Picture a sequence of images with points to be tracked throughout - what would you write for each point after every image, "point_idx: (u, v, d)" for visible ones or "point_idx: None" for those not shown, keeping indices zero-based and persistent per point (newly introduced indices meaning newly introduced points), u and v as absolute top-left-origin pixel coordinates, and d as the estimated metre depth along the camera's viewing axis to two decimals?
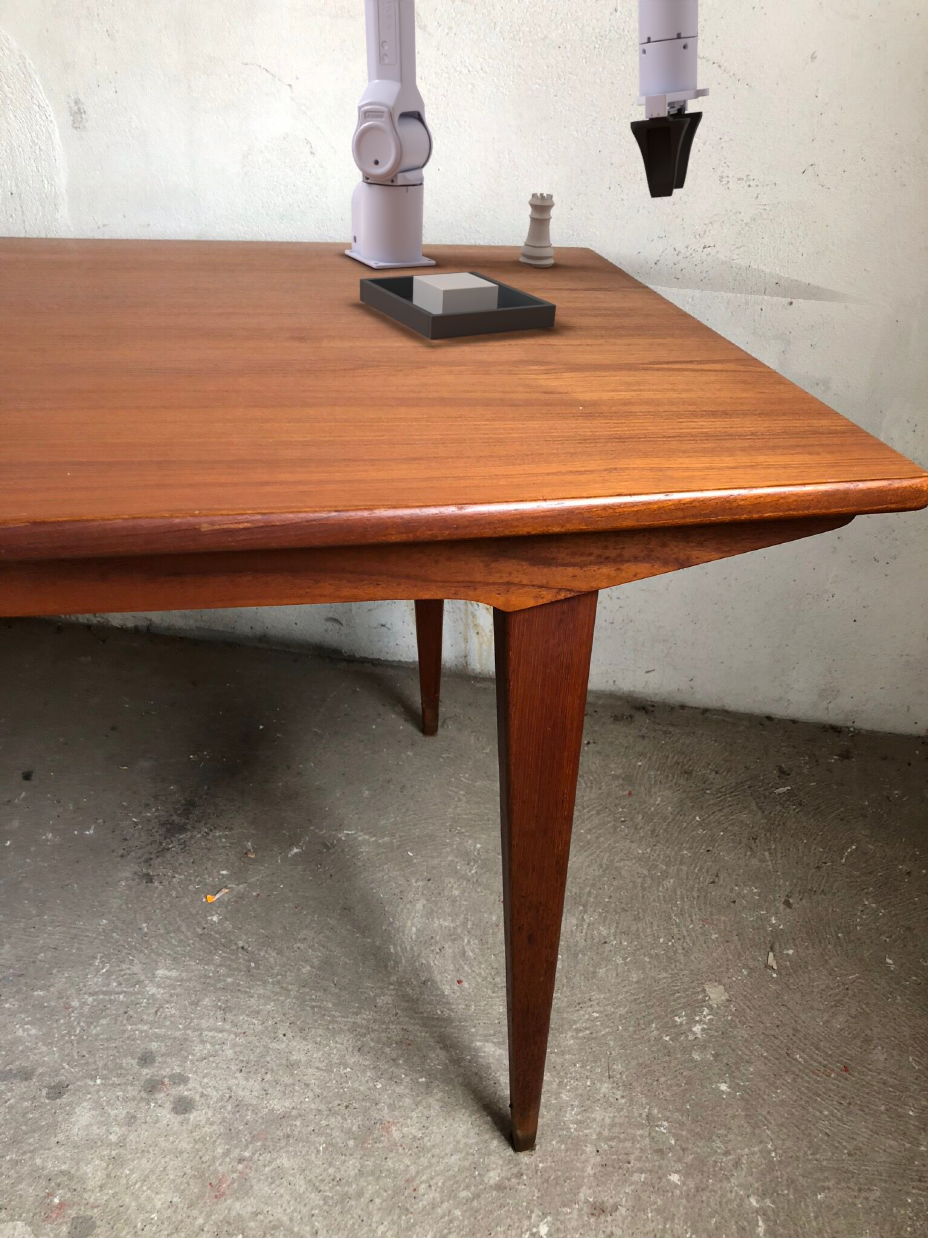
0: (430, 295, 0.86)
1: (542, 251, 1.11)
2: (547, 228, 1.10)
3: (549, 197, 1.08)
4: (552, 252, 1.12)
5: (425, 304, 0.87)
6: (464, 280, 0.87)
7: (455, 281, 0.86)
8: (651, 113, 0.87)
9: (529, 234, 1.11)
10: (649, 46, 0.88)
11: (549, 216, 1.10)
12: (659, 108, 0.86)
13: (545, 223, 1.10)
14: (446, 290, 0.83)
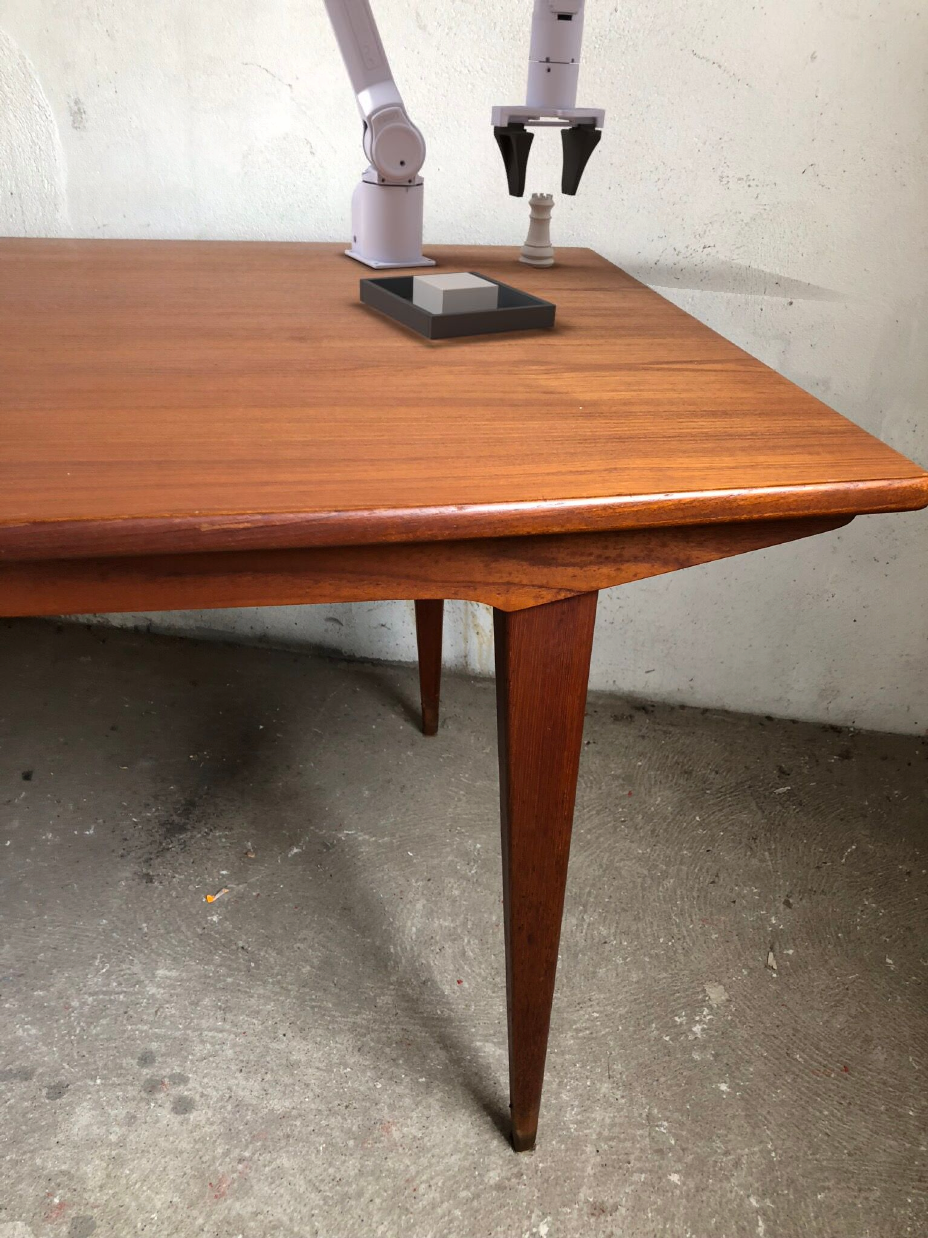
0: (430, 295, 0.86)
1: (542, 251, 1.11)
2: (547, 228, 1.10)
3: (549, 197, 1.08)
4: (552, 252, 1.12)
5: (425, 304, 0.87)
6: (464, 280, 0.87)
7: (455, 281, 0.86)
8: (493, 121, 1.02)
9: (529, 234, 1.11)
10: (528, 64, 1.02)
11: (549, 216, 1.10)
12: (497, 118, 1.01)
13: (545, 223, 1.10)
14: (446, 290, 0.83)
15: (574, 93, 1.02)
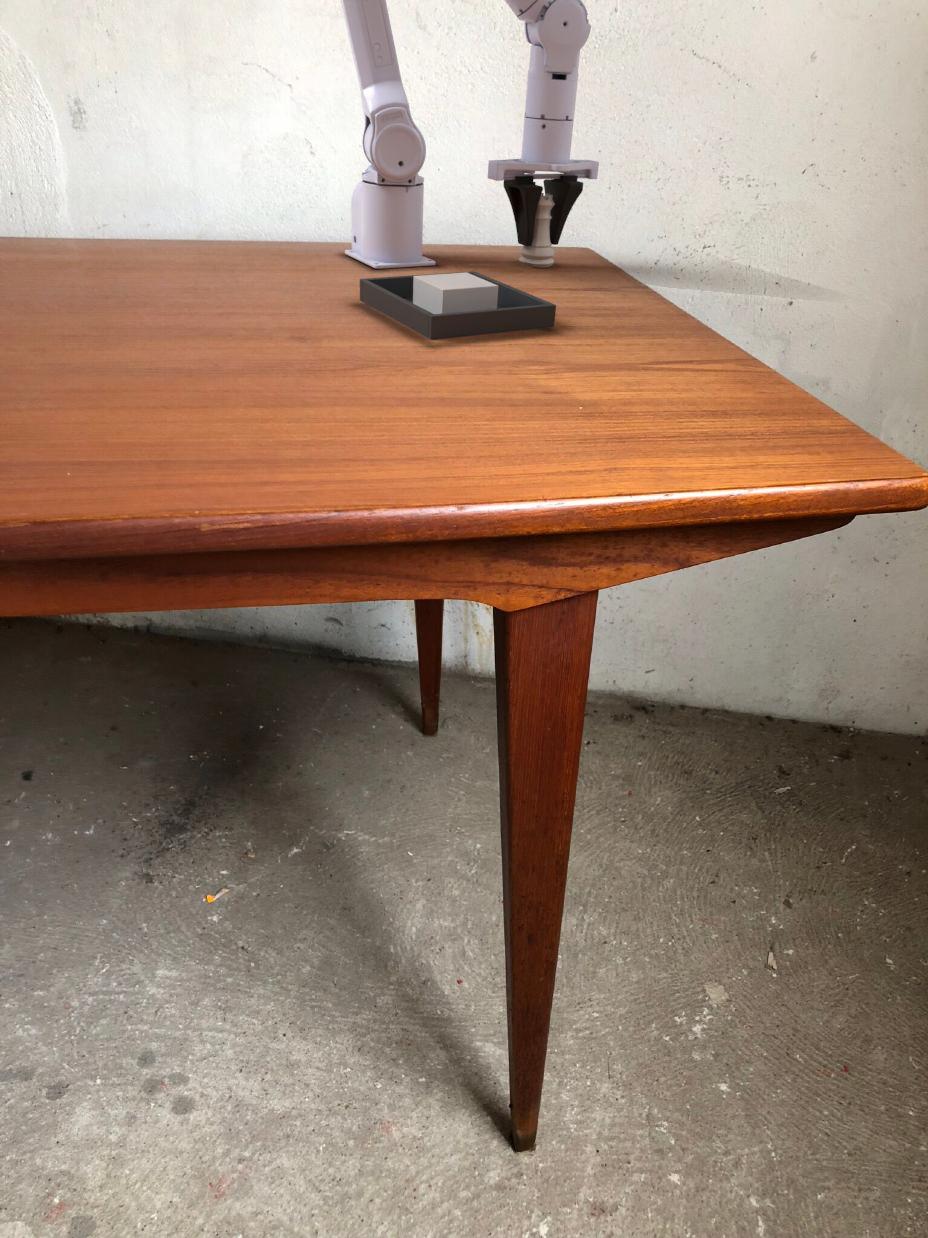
0: (430, 295, 0.86)
1: (542, 251, 1.11)
2: (547, 228, 1.10)
3: (549, 197, 1.08)
4: (552, 252, 1.12)
5: (425, 304, 0.87)
6: (464, 280, 0.87)
7: (455, 281, 0.86)
8: (490, 175, 1.05)
9: None
10: (524, 119, 1.05)
11: (549, 216, 1.10)
12: (493, 173, 1.04)
13: (545, 223, 1.10)
14: (446, 290, 0.83)
15: (568, 148, 1.05)
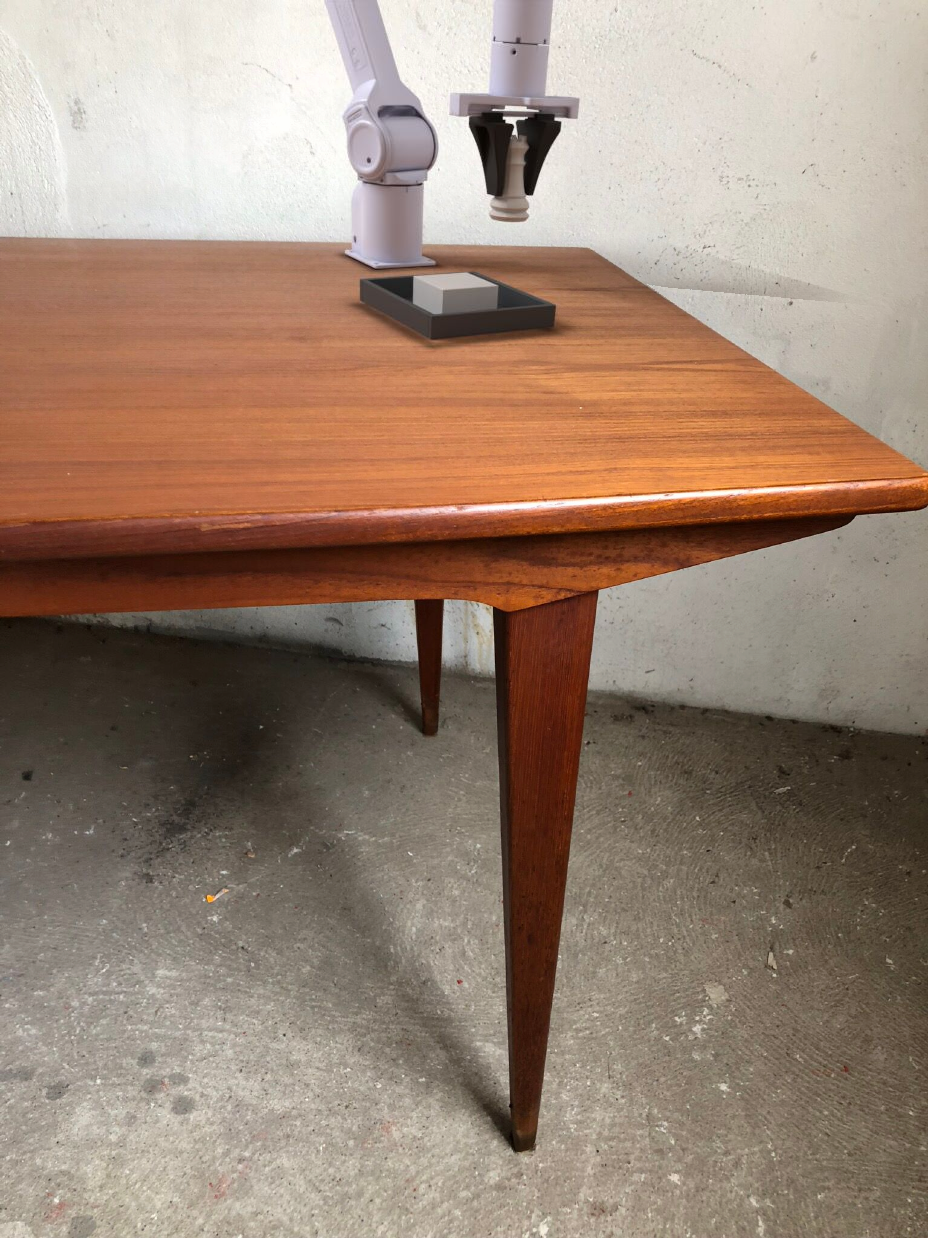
0: (430, 295, 0.86)
1: (515, 202, 0.96)
2: (520, 176, 0.95)
3: (522, 138, 0.93)
4: (527, 204, 0.96)
5: (425, 304, 0.87)
6: (464, 280, 0.87)
7: (455, 281, 0.86)
8: (452, 111, 0.90)
9: None
10: (491, 45, 0.90)
11: (523, 161, 0.94)
12: (456, 107, 0.89)
13: (518, 169, 0.95)
14: (446, 290, 0.83)
15: (543, 79, 0.90)
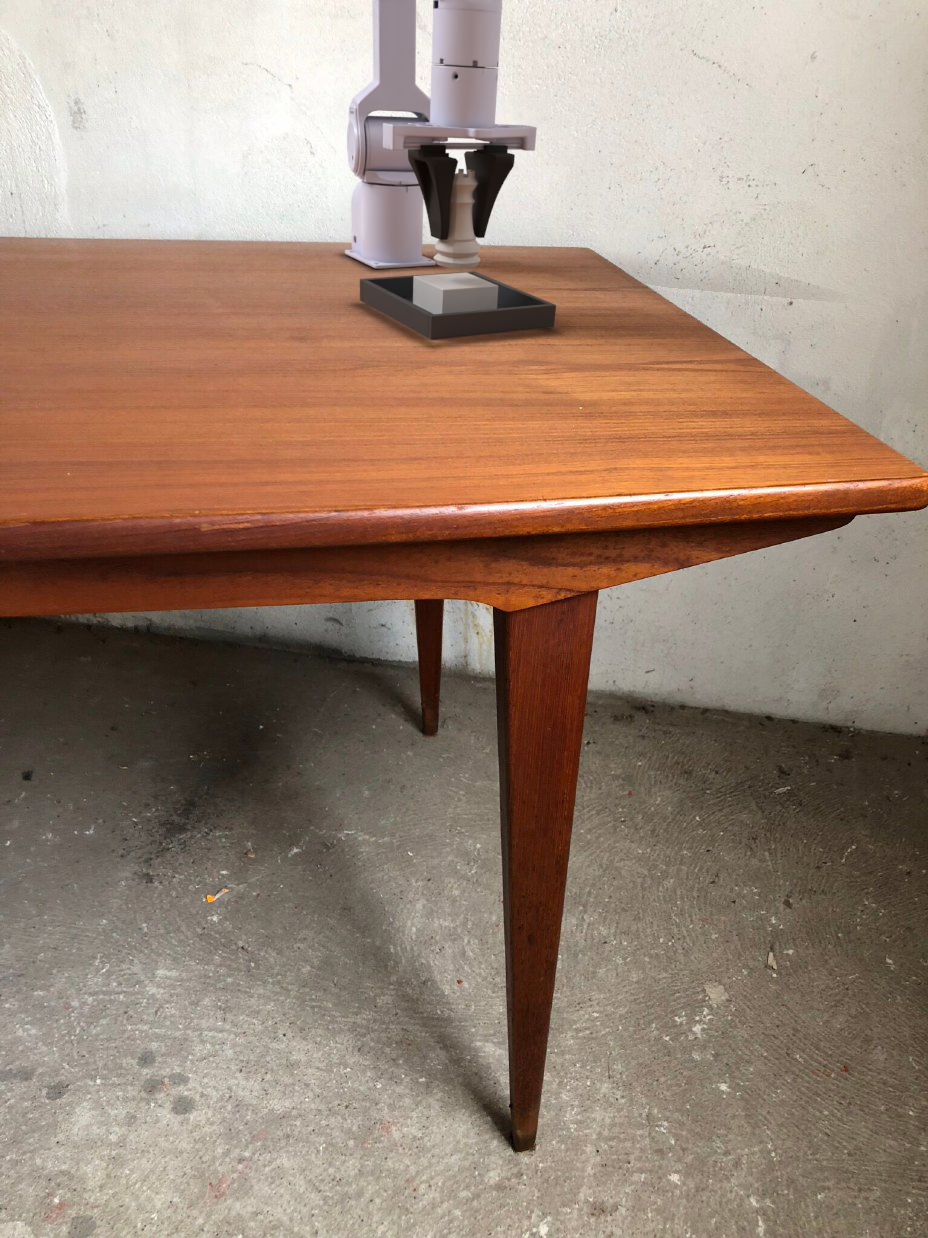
0: (430, 295, 0.86)
1: (462, 246, 0.83)
2: (469, 216, 0.83)
3: (469, 174, 0.81)
4: (476, 248, 0.84)
5: (425, 304, 0.87)
6: (464, 280, 0.87)
7: (455, 281, 0.86)
8: (385, 143, 0.78)
9: None
10: (431, 68, 0.77)
11: (471, 200, 0.82)
12: (389, 140, 0.77)
13: (465, 209, 0.82)
14: (446, 290, 0.83)
15: (492, 107, 0.78)
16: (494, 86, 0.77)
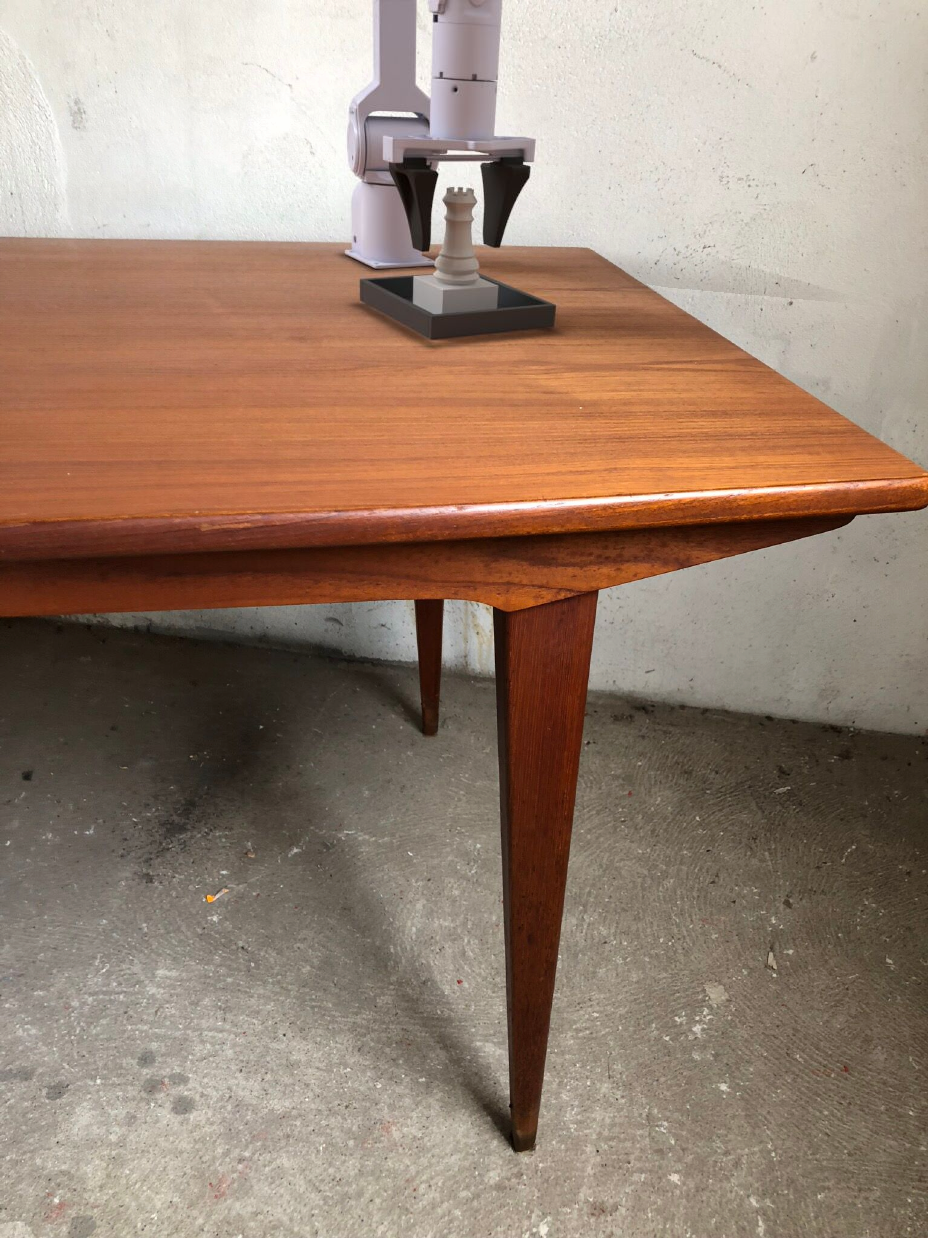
0: (430, 295, 0.86)
1: (462, 263, 0.84)
2: (468, 233, 0.84)
3: (469, 193, 0.82)
4: (476, 265, 0.85)
5: (425, 304, 0.87)
6: None
7: None
8: (385, 156, 0.78)
9: (445, 241, 0.84)
10: None
11: (470, 218, 0.83)
12: (389, 152, 0.77)
13: (465, 227, 0.83)
14: (446, 290, 0.83)
15: (491, 119, 0.78)
16: (493, 99, 0.78)
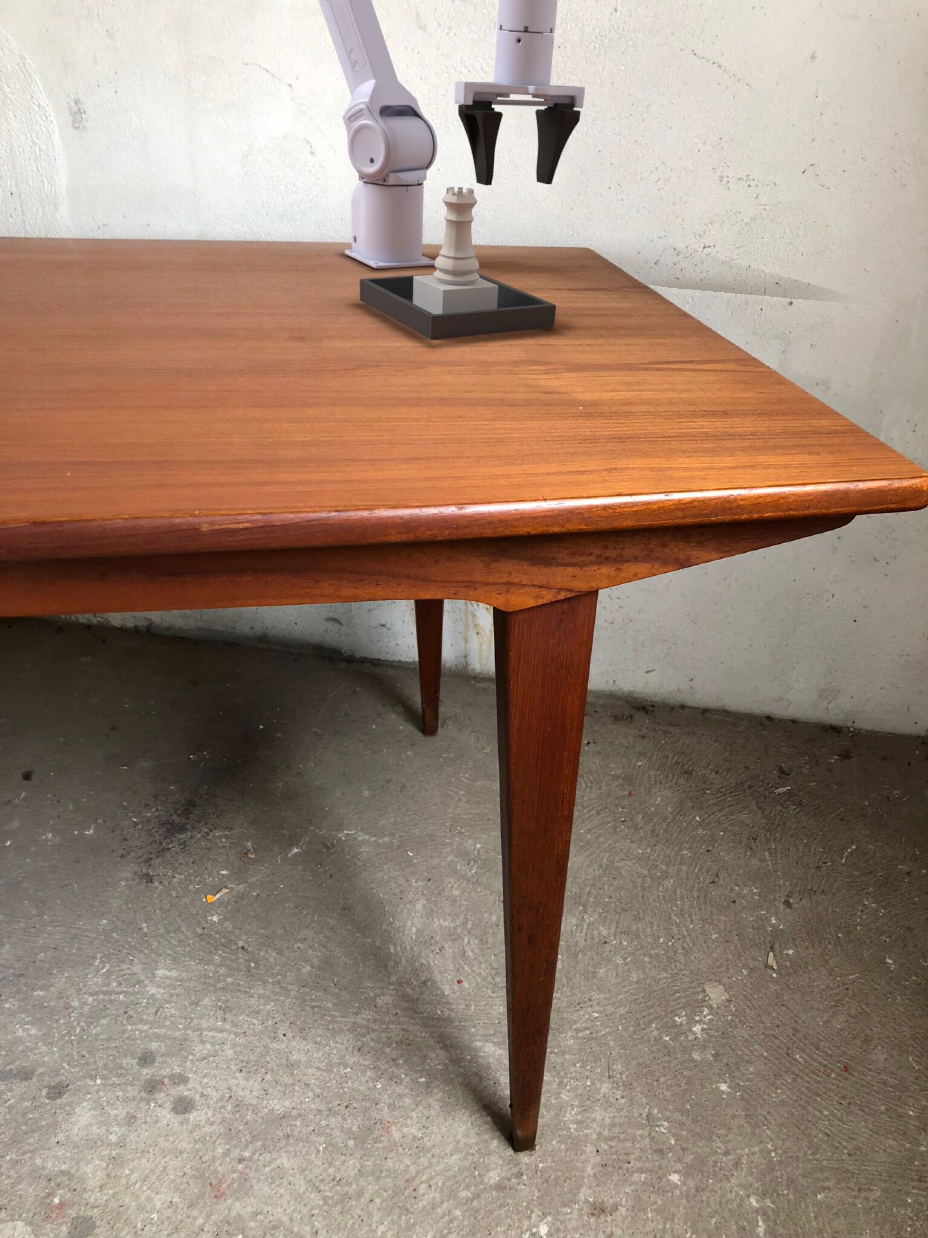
0: (430, 295, 0.86)
1: (462, 263, 0.84)
2: (468, 233, 0.84)
3: (469, 193, 0.82)
4: (476, 265, 0.85)
5: (425, 304, 0.87)
6: None
7: None
8: (457, 99, 0.90)
9: (445, 241, 0.84)
10: None
11: (470, 218, 0.83)
12: (460, 95, 0.90)
13: (465, 227, 0.83)
14: (446, 290, 0.83)
15: (548, 67, 0.90)
16: (551, 49, 0.90)
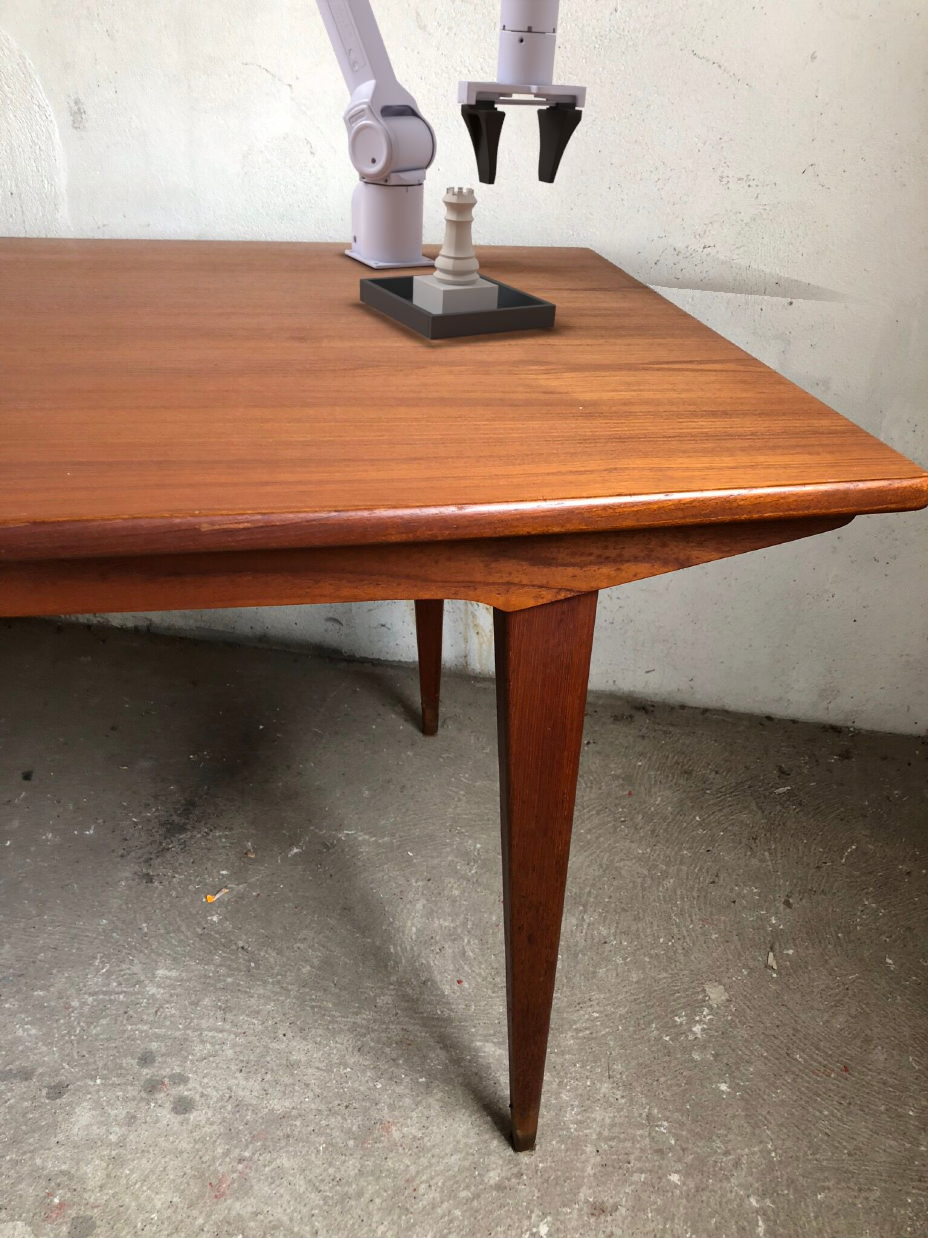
0: (430, 295, 0.86)
1: (462, 263, 0.84)
2: (468, 233, 0.84)
3: (469, 193, 0.82)
4: (476, 265, 0.85)
5: (425, 304, 0.87)
6: None
7: None
8: (460, 98, 0.91)
9: (445, 241, 0.84)
10: (499, 34, 0.91)
11: (470, 218, 0.83)
12: (464, 95, 0.90)
13: (465, 227, 0.83)
14: (446, 290, 0.83)
15: (550, 67, 0.91)
16: (553, 49, 0.90)
